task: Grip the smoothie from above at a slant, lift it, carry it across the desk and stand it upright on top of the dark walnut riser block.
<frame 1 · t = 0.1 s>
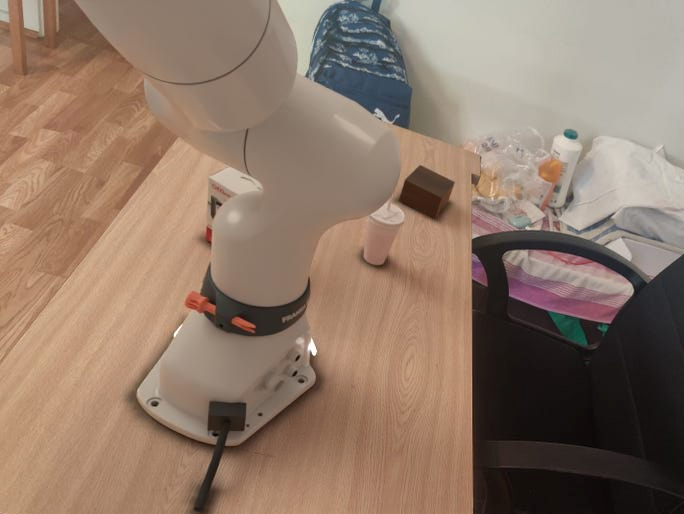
smoothie: (373, 259, 105), on the table
riser: (423, 201, 123), on the table
ink box: (237, 248, 95), on the table
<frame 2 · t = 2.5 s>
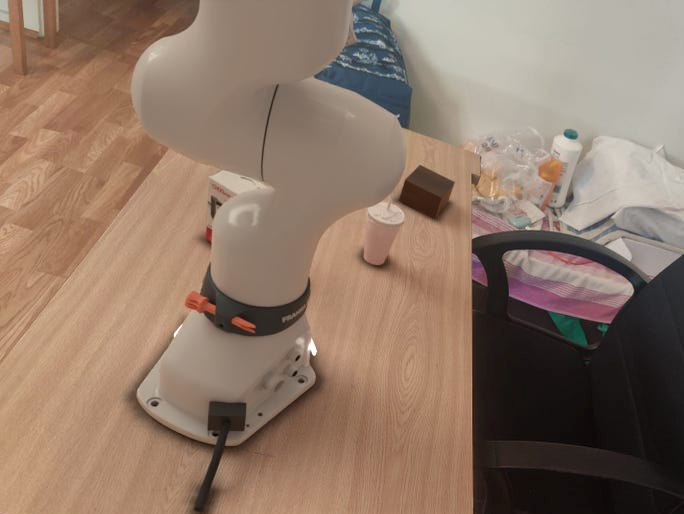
hand: (331, 52, 85), 29 cm above the table, tool tilted 40°, fingers open, 8 cm apart
nothing on the table moved.
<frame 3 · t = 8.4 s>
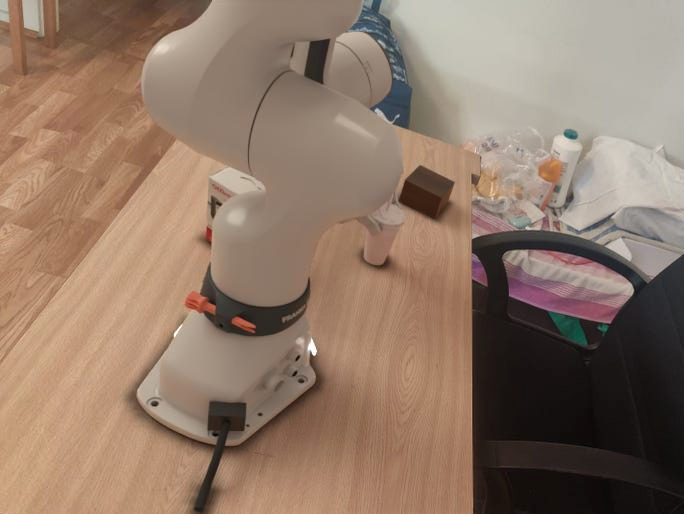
hand: (387, 222, 100), 8 cm above the table, tool tilted 45°, fingers closed on smoothie, 6 cm apart
smoothie: (373, 259, 105), on the table, touching gripper
everything else where it was.
when the fingers open (13 cm above the table, at t = 18.1 s): smoothie stays where it is, resting on riser.
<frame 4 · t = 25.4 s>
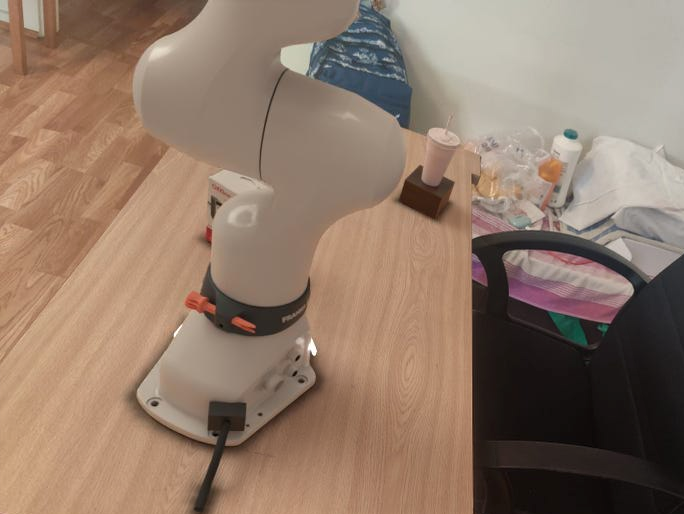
hand: (369, 15, 95), 31 cm above the table, tool tilted 45°, fingers open, 8 cm apart
smoothie: (430, 181, 119), point 5 cm above the table, touching riser
everything else where it was.
at the end: smoothie 0.1 cm off-centre on the riser, point 4.8 cm above the riser's base; smoothie tilted 0°; the gripper is holding nothing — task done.
